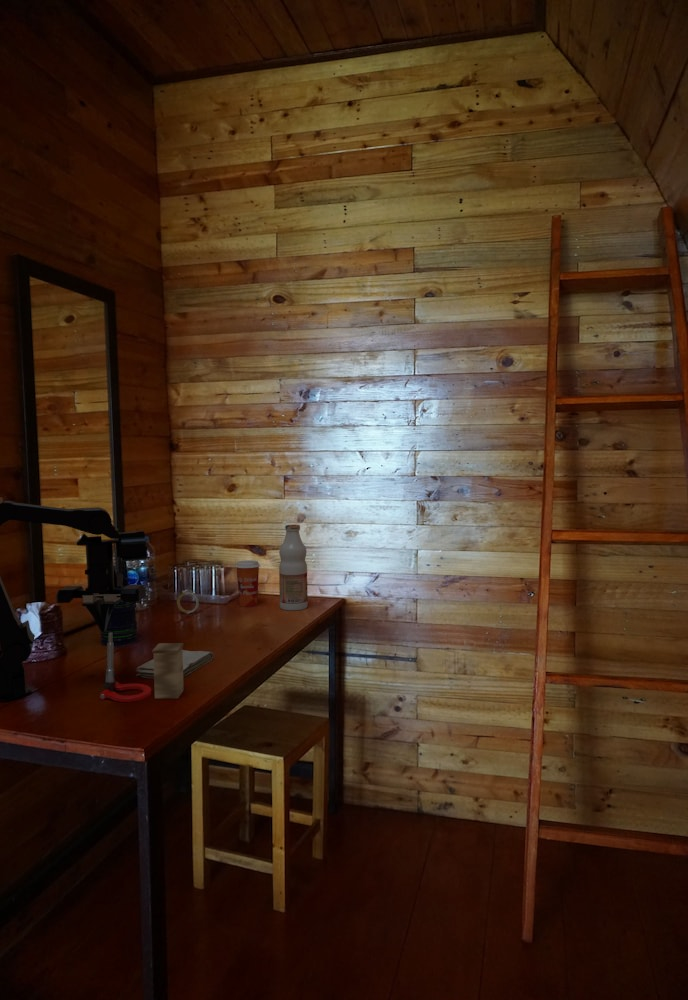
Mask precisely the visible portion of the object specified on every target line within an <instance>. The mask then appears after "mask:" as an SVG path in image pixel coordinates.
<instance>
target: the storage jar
mask: <svg viewBox="0 0 688 1000" xmlns="http://www.w3.org/2000/svg"><path fill="white" fill-rule="evenodd" d="M124 580H130V577H124ZM126 586H127V585H123V586H122V588H124V587H126ZM122 588H115V589H122ZM104 594H108V593H104ZM120 598H121V597H120ZM103 602H104V600H103ZM136 608H137V602H124V601H123V600H122V599H121V601H120V602H118V603H117V604H115V606H114V608H113V610H112V612H111V615H110V619H109V622H108V625H107V629H106V631H101V630H100V629H99V635H100V645H101V646H104V647H107V643H108V635H109V632H112V642H113V648H115V647H116V648H117V647H125V646H129V645H133V644H135V643H136V642H138V636H137V635H138V626H137V625H138V623H137V622H138V621H137V619H136Z"/></svg>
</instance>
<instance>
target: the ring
mask: <svg viewBox="0 0 688 1000" xmlns="http://www.w3.org/2000/svg"><path fill="white" fill-rule="evenodd" d="M186 595H191V596H193V597H194V600H195V606H194V608H193V609H188V610H186V609H184V608H183V607H182V606H181V603H180V602H181V599H182V597H183V596H186ZM199 603H200V599H199V596H198V595H197V594H196V593H194V592H193V590H192V589H189V588H186V589H185V590H183V589H182V590H181V593H180V594H179V595H178V597H177V599H176V605H177V608H178V610H179V611H180V612H182V613H185V614H190V613H193V612H195V611H196V610H197V609H198V607H199Z"/></svg>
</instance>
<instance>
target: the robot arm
mask: <svg viewBox="0 0 688 1000" xmlns="http://www.w3.org/2000/svg"><path fill="white" fill-rule="evenodd" d="M8 521H18V522H19V521H20V522H25V523H26V522H28V523H34V524H35V523H37V524H46V525H54V526H55V525H56V526H62V527H63V526H64V527H69V528H71V529H75V530H78V531H80V532H84V533H82V535H81V537H80V538H79V539H78V540H76V546H85V559H86V561H85V562H86V569H85V570H84V575H86V579H87V587H86V588H85V589H84V588H83V586H82V585H67V586H64V587H63V588H60V589H58V591H57V592H56V595H55V602H56V603H57V604H70V603H71V602H72V601H73V600H74V599H82V603H81V607H85V608H86V609H87V611H88V612H89V614H90V615H91V616H92V618H93V619H94V621H95V622H96V625H97V626H98V629H99V631H100V630H101V631H106V629H107V625H108V622H109V619H110V615H111V612H112V610H113V608H114V606H115V604H117V603H118V602H120V601H121V599H122V600H123V601H124V602H136V603H137V602H139V601H141V600H144V598H146V597H147V589H146V587H145V586H144V584H128V585H125V586H126V587H124V588H122V586H124V574H123V573H120V572H118V571H117V568H116V564H115V565H114V553H113V552H114V549H113V544H115V545H114V546H115V558H119V559H121V562H133V561H135V562H136V561H147V560H148V545H147V544H146V543H147V542H146V535H145V531H144V530H143V529H142V530H136V531H127V532H125V531H124V532H120V531H119V528H118V527H115V525H113V524H112V518H111V514H110V513H109V512H108V511H107V510H106V509H105V508H103V507H100V506H99V507H96V506H94V507H81V508H80V507H79V508H63V507H55V506H49V505H47V506H46V505H38V504H30V503H22V502H15V501H12V500H5V501H4V500H3V501H2V502H0V527H1V526H2V525H3V524H5V523H7V522H8ZM86 533H87V534H91V535H93V536H88V535H87V534H86ZM94 535H95V536H94ZM102 535H103V536H105V537H107V538H109V539H102ZM115 588H122V589H115ZM104 593H108V594H104ZM120 597H121V598H120ZM103 600H104V602H103ZM29 621H30V620H25V621H24V622H22V621H21V619H20V618H19V617H18V616H17V614H16V612H15V609H14V606H13V605H12V601H11V600H10V597H9V595H8V592H7V589H6V587H5V585H4V582H3V580H2V576H0V701H1V702H5V703H6V702H9V701H12V700H15V699H18V698H20V697H23V696H27V695H29V694H32V692H33V691H32V689H28V688H26V675H25V674H26V673H25V666H24V665H23V663H24V662H26V661H27V660H28V659H29V658H30V656H31V653H32V650H33V646H34V641H35V637H36V635H35V633H33V632H32V630H31V626H30V622H29Z"/></svg>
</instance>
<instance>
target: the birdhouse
mask: <svg viewBox="0 0 688 1000" xmlns="http://www.w3.org/2000/svg"><path fill="white" fill-rule="evenodd" d="M183 647H184V643H183V642H174V643H172V642H169V643H167V642H165V643H164V642H161V643H160V642H159V643H158V644H156V646H155V647H154V648H153V649H152V651H151V653H152V654H153V659H154V679H153V680H154V683H153V684H154V686H153V687H154V699H179V698H180V696H181V695H182V693H183V692H184V677H183V651H182V650H183Z"/></svg>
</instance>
